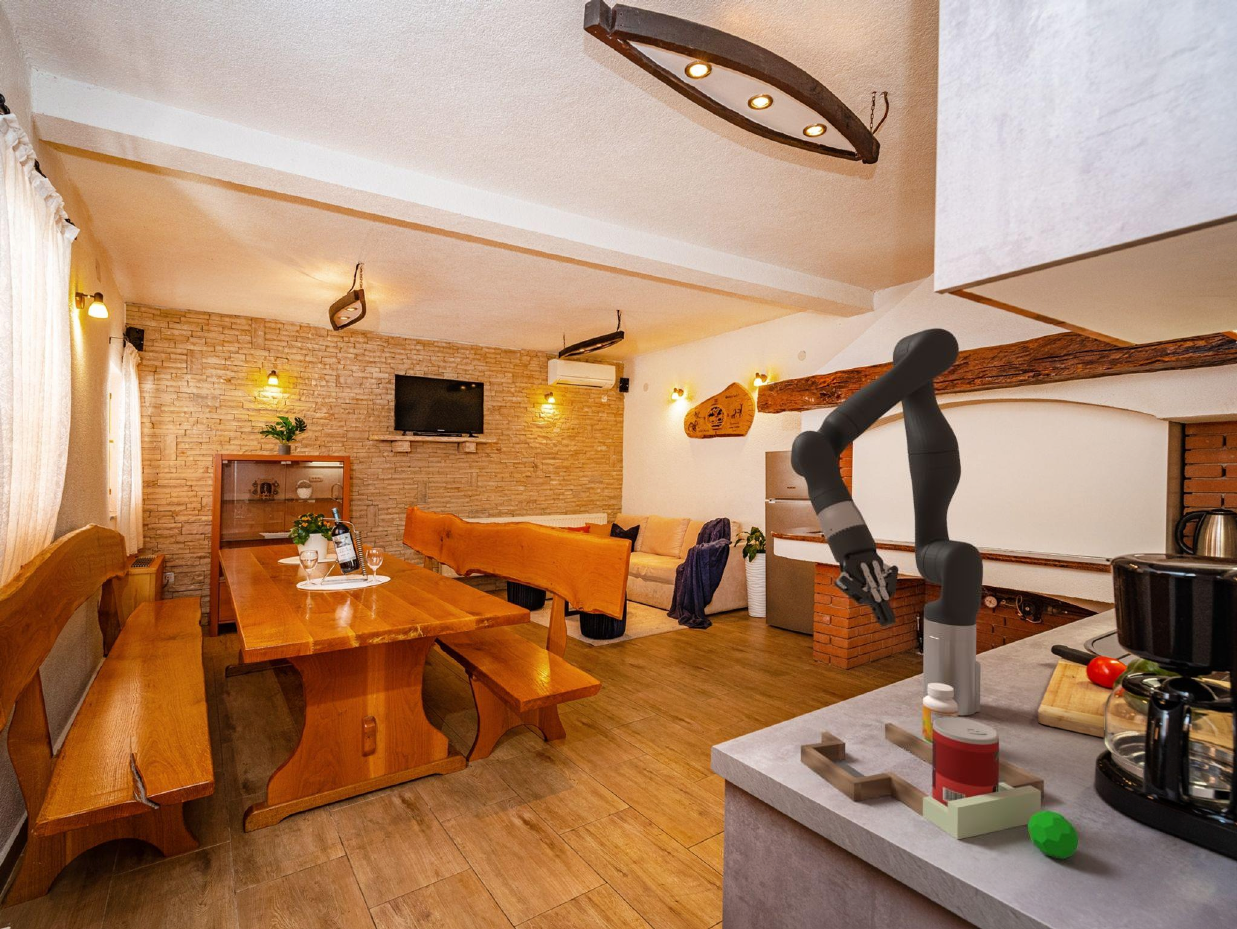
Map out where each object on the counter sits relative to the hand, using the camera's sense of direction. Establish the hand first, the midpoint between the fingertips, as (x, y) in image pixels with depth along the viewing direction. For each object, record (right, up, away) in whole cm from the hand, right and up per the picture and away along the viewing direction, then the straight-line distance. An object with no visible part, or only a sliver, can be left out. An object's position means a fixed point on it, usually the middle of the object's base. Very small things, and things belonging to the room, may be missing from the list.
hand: (889, 624), depth 103 cm
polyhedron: (+7, -21, -29) cm, 36 cm away
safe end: (+3, -20, -21) cm, 30 cm away
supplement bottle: (+10, -21, +2) cm, 23 cm away
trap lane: (-1, -20, -9) cm, 22 cm away
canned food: (+2, -21, -19) cm, 28 cm away
